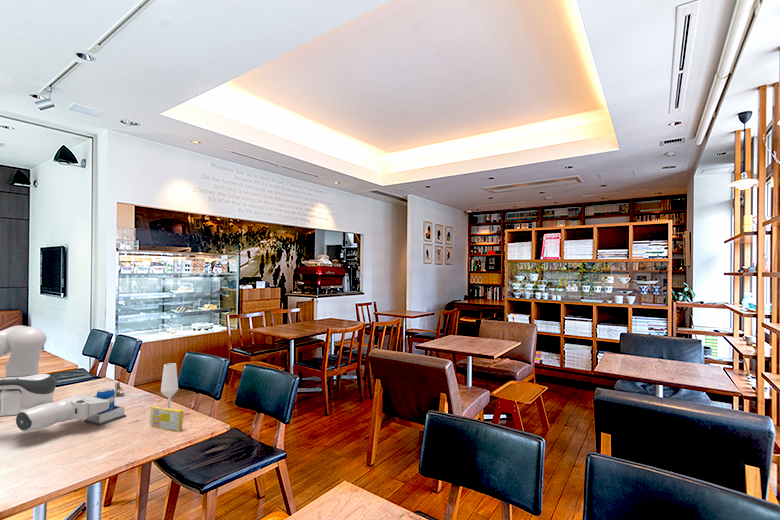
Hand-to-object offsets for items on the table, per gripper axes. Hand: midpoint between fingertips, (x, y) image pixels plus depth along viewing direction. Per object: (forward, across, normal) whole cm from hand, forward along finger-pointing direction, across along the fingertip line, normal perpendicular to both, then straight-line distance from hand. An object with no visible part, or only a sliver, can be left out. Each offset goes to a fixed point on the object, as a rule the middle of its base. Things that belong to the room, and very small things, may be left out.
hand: (107, 397), depth 170 cm
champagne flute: (+11, +25, -9) cm, 29 cm away
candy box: (+4, +33, -10) cm, 35 cm away
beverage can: (-1, 0, -8) cm, 8 cm away
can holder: (-1, 0, -9) cm, 9 cm away
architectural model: (+21, -29, -10) cm, 37 cm away
